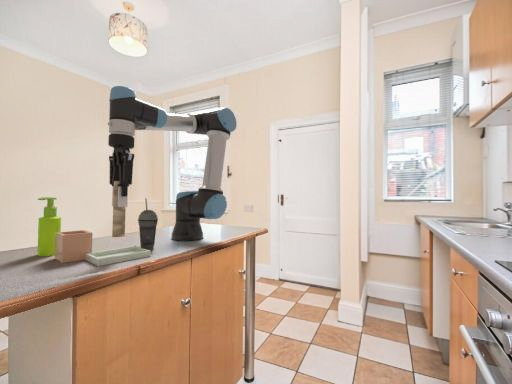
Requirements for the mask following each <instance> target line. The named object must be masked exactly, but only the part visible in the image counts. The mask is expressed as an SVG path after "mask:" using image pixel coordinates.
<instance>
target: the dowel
mask: <svg viewBox="0 0 512 384" xmlns="http://www.w3.org/2000/svg"><path fill="white" fill-rule="evenodd" d="M118 184H120V181H114V196H113V206H112V230H111V231H112V233H111V236H112V238H122V237H125V234H126V208H127V207H118V187H121V186H117V185H118Z"/></svg>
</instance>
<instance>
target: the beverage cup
mask: <svg viewBox="0 0 512 384" xmlns="http://www.w3.org/2000/svg"><path fill="white" fill-rule="evenodd" d="M144 200H145V209H144V210H143V211H141V212H140V214H139V215H138V219H137V221H138V226H139V227H138V229H139V241H140V248H144V249H147V250H150V251H153V250H154V247H155V243H156V241H155V240H156V233H157V226H158V220H159V218H158V214H157V212H155V211H154V210H152V209H149V208H148V201H147V200H148V199H147V198H145V199H144Z"/></svg>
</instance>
